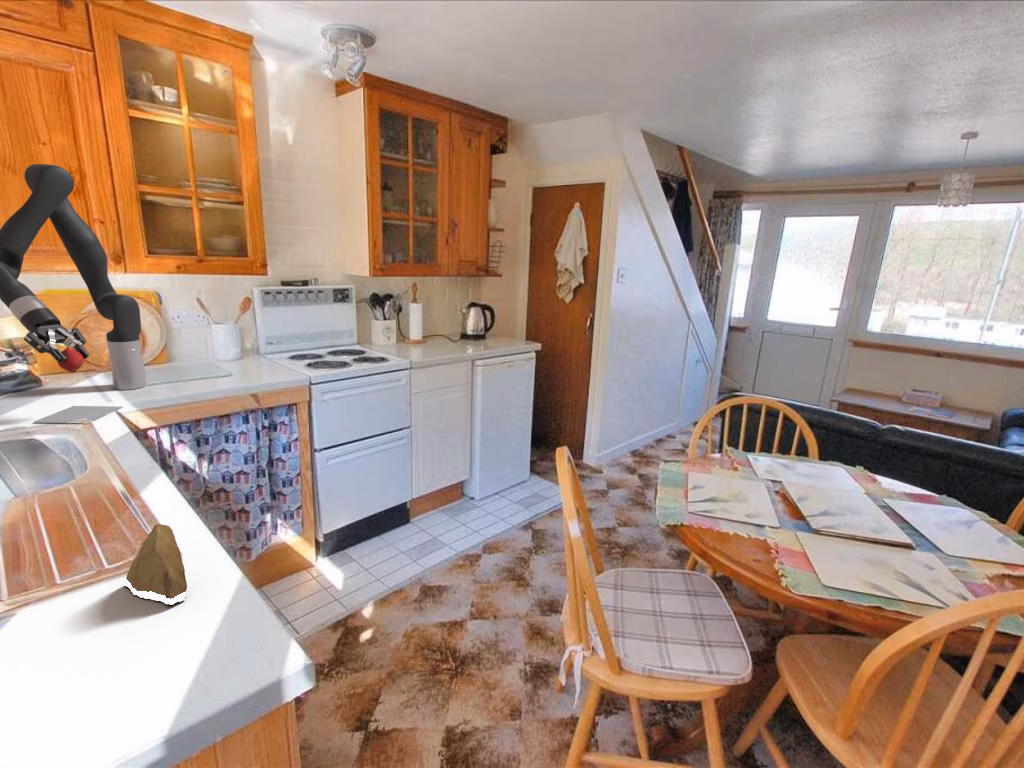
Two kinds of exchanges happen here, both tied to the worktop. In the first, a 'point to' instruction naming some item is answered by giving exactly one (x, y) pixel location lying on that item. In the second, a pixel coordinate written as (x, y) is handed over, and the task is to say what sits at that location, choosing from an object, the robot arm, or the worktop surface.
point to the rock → (159, 564)
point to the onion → (71, 360)
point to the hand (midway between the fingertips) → (75, 359)
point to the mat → (78, 414)
